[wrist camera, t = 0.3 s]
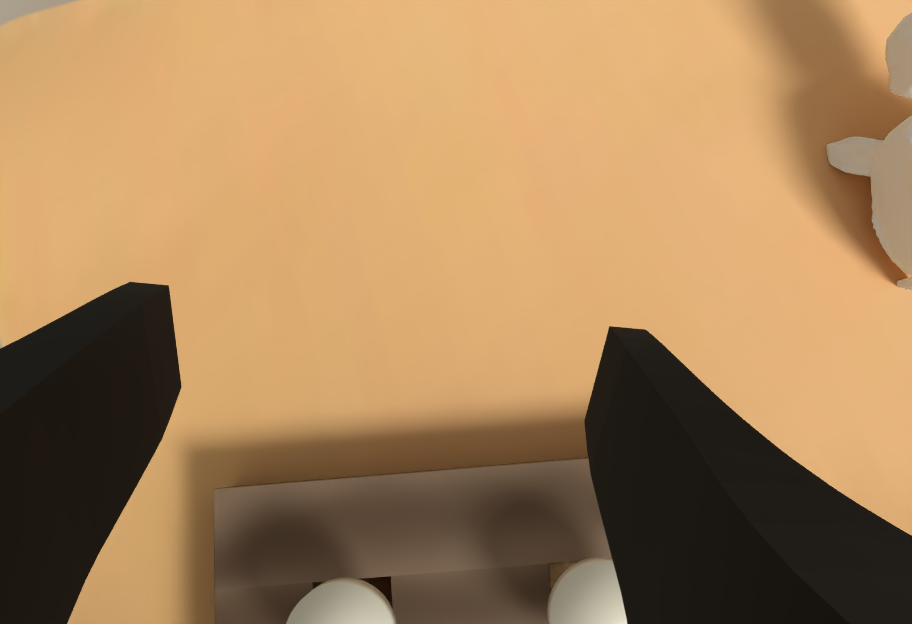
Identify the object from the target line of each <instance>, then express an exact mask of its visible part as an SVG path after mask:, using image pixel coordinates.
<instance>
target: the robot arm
mask: <svg viewBox="0 0 912 624" xmlns="http://www.w3.org/2000/svg"><path fill="white" fill-rule="evenodd" d="M180 389H181V380H180V372H179V364H178V356H177V348H176V340H175V332H174V324H173V316H172V308H171V300H170V292H169V286H168V285H157V284H146V283H136V282H129V283H127V284H124V285H122V286H120V287H118V288H116V289H113V290H111V291H109V292H107V293H106V294H104V295H102V296H100V297H98V298H96V299H94V300H92V301H90V302H88V303H87V304H85V305H83V306H81V307H79V308H77V309H75V310H74V311H72V312H70V313H68V314H66V315H64V316H62V317H61V318H59V319H57V320H55V321H53V322H51V323H49V324H47V325H46V326H44V327H42V328H40V329H38V330H36V331H34V332H32V333H31V334H29V335H27V336H25V337H23V338H21V339H19V340H17V341H15V342H13V343H11V344H9V345H7V346H5V347H3V348H1V349H0V624H67V622H68V620H69V618H70V615H71V613H72V611H73V608H74V606H75V603H76V601H77V599H78V596H79V594H80V592H81V589H82V587H83V585H84V582H85V580H86V578H87V576H88V574H89V572H90V570H91V568H92V566H93V564H94V562H95V560H96V558H97V556H98V554H99V552H100V550H101V549H102V547H103V545H104V543H105V541H106V540H107V538H108V536H109V534H110V532H111V531H112V529H113V527H114V525H115V523H116V522H117V520H118V518H119V516H120V514H121V513H122V511H123V509H124V507H125V506H126V504H127V502H128V500H129V498H130V497H131V495H132V493H133V491H134V489H135V488H136V486H137V484H138V482H139V480H140V479H141V477H142V475H143V473H144V471H145V469H146V468H147V466H148V464H149V462H150V460H151V458H152V457H153V455H154V453H155V451H156V449H157V447H158V445H159V443H160V442H161V440H162V437H163V435H164V432H165V430H166V427H167V425H168V422H169V420H170V417H171V414H172V412H173V409H174V406H175V403H176V400H177V398H178V395H179V392H180ZM585 431H586V441H587V451H588V459H589V466H590V474H591V478H592V482H593V486H594V490H595V494H596V498H597V502H598V506H599V510H600V514H601V518H602V522H603V526H604V529H605V533H606V537H607V541H608V545H609V549H610V552H611V556H612V560H613V564H614V568H615V572H616V575H617V579H618V583H619V587H620V591H621V595H622V600H623V605H624V609H625V614H626V619H627V624H912V536H911V535H909V534H907V533H906V532H904V531H902V530H900V529H899V528H897V527H896V526H894V525H892V524H891V523H889V522H887V521H886V520H884V519H882V518H881V517H879V516H877V515H876V514H874V513H872V512H871V511H869V510H867V509H866V508H864V507H862V506H861V505H859V504H858V503H856V502H854V501H853V500H851V499H850V498H848V497H847V496H845V495H844V494H842V493H841V492H839V491H837V490H836V489H834V488H833V487H831V486H830V485H829V484H827V483H826V482H824V481H823V480H822V479H820V478H819V477H817V476H816V475H814V474H813V473H812V472H810V471H809V470H807V469H806V468H805V467H803V466H802V465H800V464H799V463H798V462H796V461H795V460H793V459H792V458H791V457H789V456H788V455H787V454H785V453H784V452H783V451H782V450H780V449H779V448H778V447H776V446H775V445H774V444H773V443H771V442H770V441H769V440H768V439H767V438H765V437H764V436H763V435H762V434H760V433H759V432H758V431H757V430H756V429H754V428H753V427H752V426H751V425H749V424H748V423H747V422H746V421H745V420H743V419H742V418H741V417H740V416H739V415H738V414H737V413H735V412H734V411H733V410H732V409H731V408H730V407H729V406H728V405H726V404H725V403H724V402H723V401H722V400H721V399H720V398H719V397H718V396H716V395H715V394H714V393H713V392H712V391H711V390H710V389H709V388H708V387H707V386H706V385H705V384H704V383H702V382H701V381H700V380H699V379H698V378H697V377H696V376H695V375H694V374H693V373H692V372H691V371H690V370H689V369H688V368H687V367H686V366H685V365H684V364H683V363H681V362H680V361H679V360H678V359H677V358H676V357H675V356H674V355H673V354H672V353H671V352H670V351H669V350H668V349H667V348H666V347H665V346H664V345H663V344H662V343H660V342H659V341H658V340H657V339H656V338H655V337H654V336H653V335H651V334H650V333H649V332H648V331H647V330H643V329H632V328H622V327H611V326H610V327H609V330H608V334H607V338H606V342H605V345H604V349H603V353H602V357H601V361H600V364H599V368H598V372H597V376H596V379H595V383H594V387H593V391H592V395H591V398H590V402H589V406H588V410H587V414H586V417H585Z"/></svg>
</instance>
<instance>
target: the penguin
mask: <svg viewBox="0 0 912 624" xmlns="http://www.w3.org/2000/svg"><path fill="white" fill-rule="evenodd" d="M885 60H886V64H887V68H888V72H889V89H890V93H892V94H895V95H898V96H901V97H905V98H911V99H912V13H911V14H909V15H907V16H906V17H905V18H903V19H902V21H901V22H900V23H899V24H898V25H897V27H896V28H895V29H894V30H893V32H892V33H891V34H890V36H889V37H888V38H887V42H886V50H885ZM826 151H827V157H828V161H829V164H831V165H832V166H834V167H835V168H837V169H840V170H841V171H843V172H844V173H851V174H856V175H860V176H861V175H864V176H869V177H871V195H872V205H871V206H872V210H873V214H872V219H871V221H872V223H873V224H874V225H873V228H874V229H875V230H876V235H877V237H878V238H879V240H880V244H882V248H883V249H884V250H885V251H886V254H888V255H889V257H890V258H891V261H892V262H893V263H895V264H896V265H897V266H898V267H899V268H900V269H901V270H902V271H903V272H905V273H906V274H907V275H908V276H911V278H910V279H908V278H906V279H903V280H898V281H897V282H896V283H897V287H901V288H905V289H911V290H912V115H911V116H909V117H908V118H907V119H906V120H904V121H903V122H902V123H900V124H899V125H898V126H897V127H895V128H894V129H893V130H892V131H891V132H889V134H888V135H887V136H886V138H885V140H877V139H872V138H865V137H857V136H854V137H848V138H845V139H843V140H840V141H837V142H833V143H829V144H827V145H826Z"/></svg>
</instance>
